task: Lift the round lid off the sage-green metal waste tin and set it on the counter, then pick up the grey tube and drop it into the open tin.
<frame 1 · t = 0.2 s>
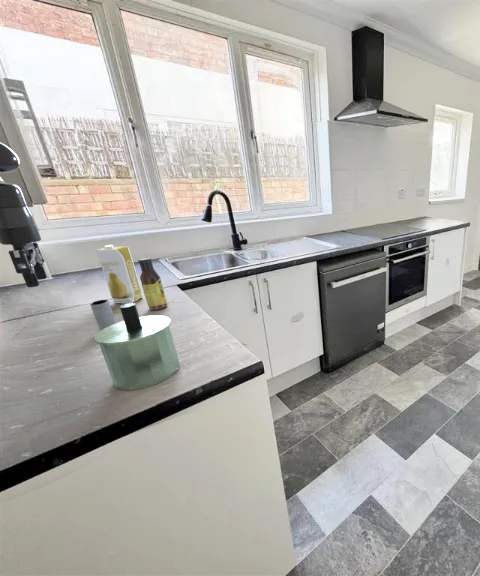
hand: (38, 282, 87), 20 cm above the countertop, tool pointing down, fingers open, 8 cm apart
grey tube: (109, 331, 104), on the countertop
juice carton: (129, 301, 130), on the countertop
tin lid: (135, 330, 75), point 12 cm above the countertop, touching waste tin
waste tin: (148, 373, 80), on the countertop
sauce bottle: (158, 308, 122), on the countertop
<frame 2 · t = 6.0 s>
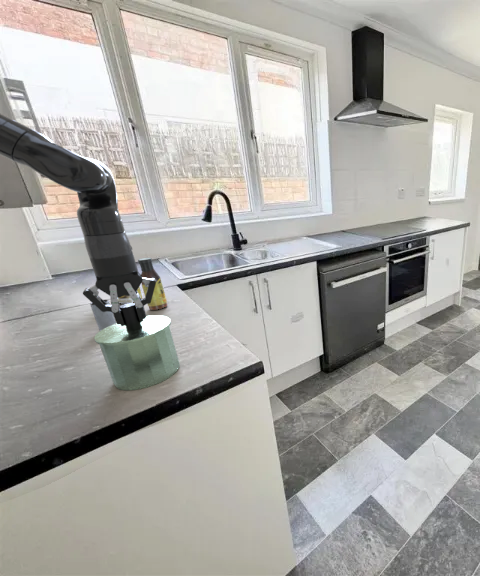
hand: (133, 322, 75), 15 cm above the countertop, tool pointing down, fingers closed on tin lid, 3 cm apart
tin lid: (135, 330, 75), point 13 cm above the countertop, touching gripper, waste tin
everything else where it was.
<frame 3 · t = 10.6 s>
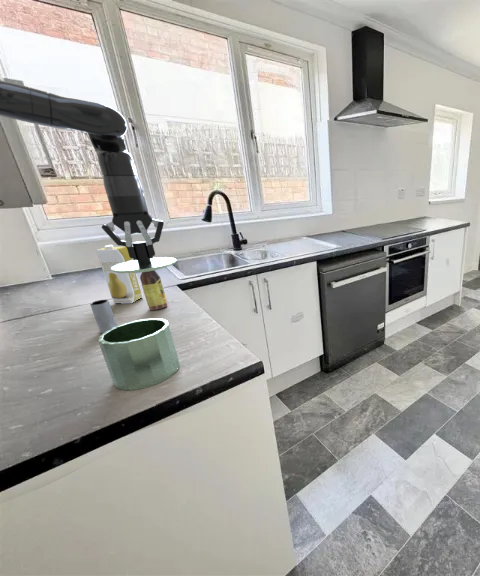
hand: (143, 258, 86), 27 cm above the countertop, tool pointing down, fingers closed on tin lid, 3 cm apart
tin lid: (145, 265, 87), point 25 cm above the countertop, touching gripper
everything else where it was.
when the fingers open (3 cm above the countertop, at t = 15.2 s): tin lid stays where it is, point 1 cm above the countertop.
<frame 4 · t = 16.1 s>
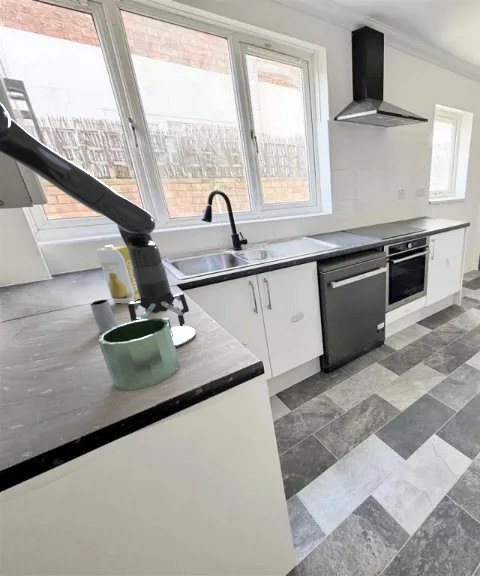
hand: (165, 329, 95), 4 cm above the countertop, tool pointing down, fingers open, 8 cm apart
tin lid: (168, 339, 96), point 1 cm above the countertop
everything else where it was.
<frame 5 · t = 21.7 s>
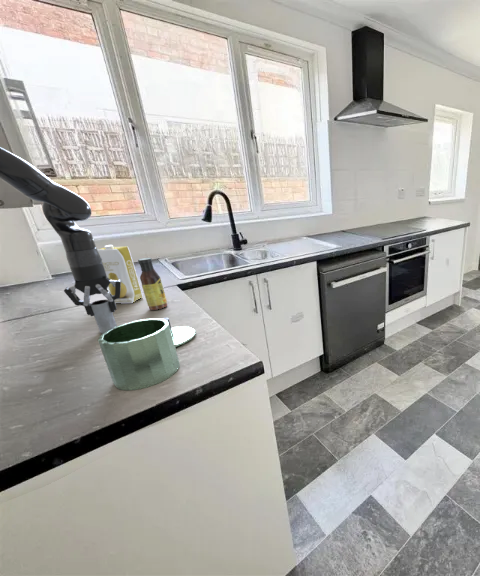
hand: (103, 313, 101), 6 cm above the countertop, tool pointing down, fingers closed on grey tube, 4 cm apart
grey tube: (109, 331, 104), on the countertop, touching gripper
everything else where it was.
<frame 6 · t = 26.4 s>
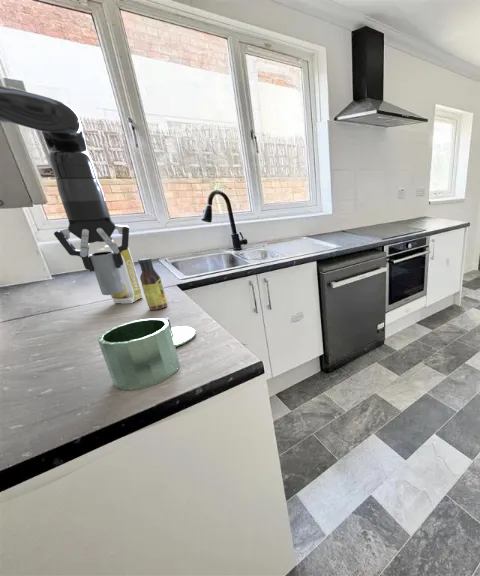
hand: (106, 268, 78), 26 cm above the countertop, tool pointing down, fingers closed on grey tube, 4 cm apart
grey tube: (113, 293, 80), point 20 cm above the countertop, touching gripper
everything else where it was.
when the fingers open (11 cm above the countertop, at t = 31.5 s): grey tube drops 4 cm, resting on waste tin.
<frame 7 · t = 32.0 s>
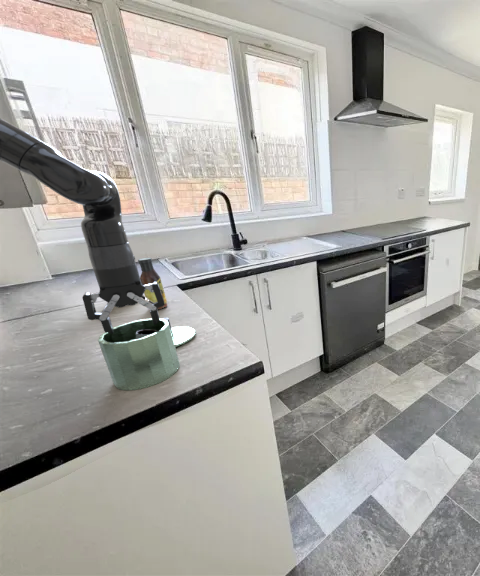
hand: (134, 328, 75), 13 cm above the countertop, tool pointing down, fingers open, 8 cm apart
grey tube: (146, 371, 79), point 1 cm above the countertop, touching waste tin
everything else where it was.
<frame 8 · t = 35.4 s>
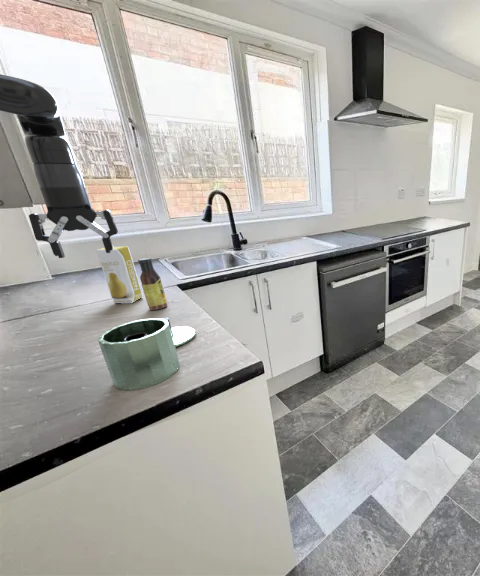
hand: (86, 254, 76), 30 cm above the countertop, tool pointing down, fingers open, 8 cm apart
at the end: tin lid inside the target area (0.0 cm from its centre), point 0.6 cm above the countertop; grey tube inside the target area in the waste tin (0.3 cm from its centre), point 0.3 cm above the waste tin's base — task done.
